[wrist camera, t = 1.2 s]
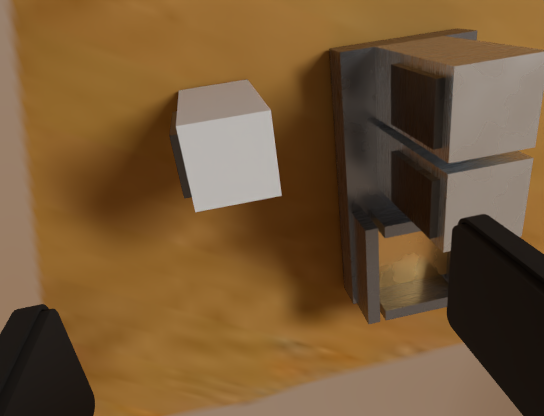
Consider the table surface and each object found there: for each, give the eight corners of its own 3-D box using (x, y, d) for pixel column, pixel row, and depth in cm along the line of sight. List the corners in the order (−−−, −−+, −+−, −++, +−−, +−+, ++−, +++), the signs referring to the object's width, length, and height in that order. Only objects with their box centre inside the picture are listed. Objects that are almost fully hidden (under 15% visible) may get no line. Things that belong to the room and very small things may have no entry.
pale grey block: (171, 91, 25) (165, 127, 18) (247, 79, 26) (270, 109, 18) (186, 157, 27) (186, 213, 20) (257, 144, 27) (281, 195, 20)
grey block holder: (329, 48, 26) (404, 74, 17) (457, 28, 26) (595, 43, 17) (344, 287, 33) (401, 392, 24) (443, 266, 34) (533, 360, 25)
